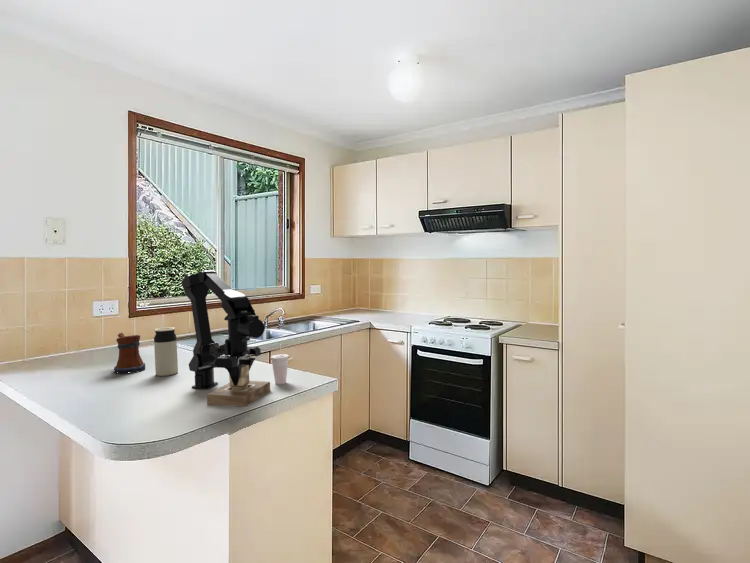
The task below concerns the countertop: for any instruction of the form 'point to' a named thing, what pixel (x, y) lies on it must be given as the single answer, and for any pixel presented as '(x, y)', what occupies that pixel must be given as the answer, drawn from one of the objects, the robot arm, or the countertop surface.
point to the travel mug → (165, 351)
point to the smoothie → (280, 367)
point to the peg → (241, 379)
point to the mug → (128, 354)
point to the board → (238, 394)
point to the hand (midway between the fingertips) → (239, 383)
